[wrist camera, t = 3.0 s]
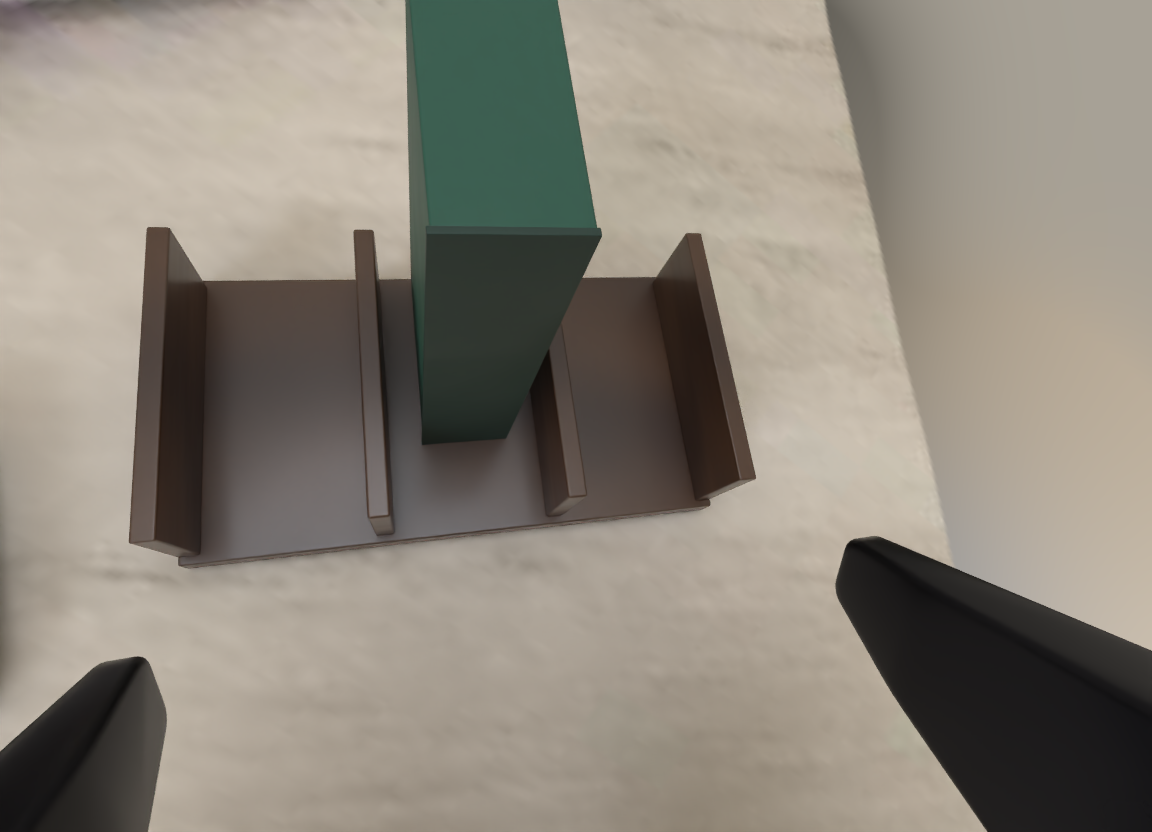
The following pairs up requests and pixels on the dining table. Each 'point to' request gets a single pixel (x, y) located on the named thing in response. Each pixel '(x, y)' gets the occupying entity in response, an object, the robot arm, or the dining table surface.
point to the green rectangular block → (490, 206)
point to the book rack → (413, 414)
